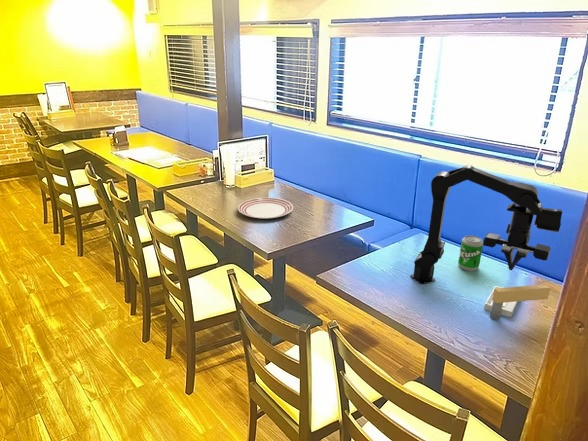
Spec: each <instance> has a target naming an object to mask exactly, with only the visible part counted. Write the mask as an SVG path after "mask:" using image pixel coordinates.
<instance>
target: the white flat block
mask: <svg viewBox="0 0 588 441" xmlns="http://www.w3.org/2000/svg"><path fill="white" fill-rule="evenodd" d="M493 287H494V288H492V289H493V290H492V291H491V292H490V294H489V296H488V297H487V299H486V301H485V303H484V306H483V310H486V311H489V312H491V309H492V304H493V300H492V298H493V294H494V289H495V288H503V287H501V286H497V285H495V286H493ZM518 303H519V301H517V302H505V303H503V306H502V310H501V315H502V316H504V317H508V318H512V315H513V314H514V312H515V309H516V307H517V304H518ZM501 315H500V316H501Z"/></svg>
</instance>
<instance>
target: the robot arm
mask: <svg viewBox="0 0 588 441" xmlns="http://www.w3.org/2000/svg"><path fill="white" fill-rule="evenodd" d="M466 181H469V182H471V183H474V184H477V185H480V186H482V187H485V188H487V189H489V190H491V191H494V192H496V193H499V194H501V195H503V196H504V197H507V199H508V200H510V201H512V203H511V204H509V205H507V208H506V210H507V211H508V212H512V214H511V215H512V216H511V221H510V223H509V224H507V227H506V231H505V233H506V234H507V239H504V238H503V239H502V238H501V234H496V233H492V232H488V233H487V234H486V235H485V236H484V238H483V240H482V241H483V247H484V246H485V247H489V248H491V249H493V248H494V247H497V246H496V245H499V246H501V247H502V248H501V250H500V252H501V253H503V254H504V257H505V259H506V262H507V266H508V270H509V271H513V269H514V268H515V267H516V265H517V264H518V262H519V261H520V260H521V259H523V258H524V259H526V258H527V256H528V254H529V253H532V256H533V257H534V258H535V259H537V260H541V261H548V259H549V256H550V254H551V247H550V246H549V245H544V244H541V243H540V244H539V243H537V244H536V245H535V246H532V245H529V242H530V238H531V228H532V223H533V218H534V216H535V218H534V224H533V225H534V226H535V228H537V230H542V231H549V232H553V233H559V232H560V228H561V225H562V222H561V221H562V216H563V209H558V208H548V207H543V205H542V202H541V200H540V199H539V192H538V189H537V187H536V186H534V185H532V184H527V183H523V182H515V181H510V180H507V179H504V178H503V177H499V176H496V175H494V174H493V173H489V172H487V171H484V170H481V169H480V168H476V167H474V166H473V165H470V164H467V165H465V166H462V167H459V168H455V169H452V170H449V171H444V170H443V171H439V172H437V173H436V175H434V177H433V178H432V180H431V182H430V187H431V188H430V190H431V191H430V192H431V196H432V205H431V213H430V221H429V228H428V235H427V236H428V237H427V240H426V242H425V244H424V248H423V250H422V251H420V252H419V253H418V255H417V257H416V258H415V260H414V262H413V263H414V267H413V274H410V276H409V277H410V278H412V279H413V280H415V281H416V282H417V283H419V284H420V285H424V284H427V283H431V282H436V278H434V273H435V265H436V264H437V263H438V261H439V260H441V258H442V257H443V255H444V253H445V249H444V248H445V246H446V245H445V244H446V241H442V238H441V235H442V229H443V221H444V215H445V209H446V203H447V202H446V201H447V199H448V195H449V194H450V190H451V188H452V187H453V186H456V185H458V184H460V183H462V182H466ZM515 249H516V250H517V251H516V253H515V255H514V251H515Z"/></svg>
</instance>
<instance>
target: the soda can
mask: <svg viewBox="0 0 588 441" xmlns="http://www.w3.org/2000/svg"><path fill="white" fill-rule="evenodd" d="M483 241H484V240H483V239H482V238H481V237H479V236H476V235H465V236H464V237H463V238H462V239H461V243H460V244H461V245H460V250H459V254H458V255H459V256H458V262H457V263H458V264H457V265H458V266H459V267H460V269H462V270H463V271H468V272H472V271H473V272H474V271H476V270H478V269H479V268H480V264H481V258H482V254H483V248H484V245H483Z"/></svg>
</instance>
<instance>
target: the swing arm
mask: <svg viewBox="0 0 588 441" xmlns="http://www.w3.org/2000/svg"><path fill="white" fill-rule="evenodd" d="M493 289H494V288H493ZM550 292H551V287H550V286H549V285H548V284H547V283H546V284H537V285H535V284H534V285H521V286H507V287H502V288H495V289H494V294H493V298H492V300H493V304H492V309H491V311H490V315H489V317H490V318H491V319H492V320H493V319H494V320H500V318H501V310H502V306H503V303H505V302H517V301H518V302H526V301H529V302H530V301H539V300H548V299H549V296H550Z"/></svg>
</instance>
